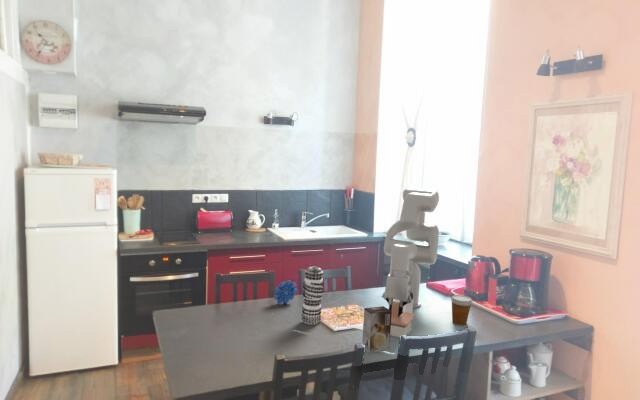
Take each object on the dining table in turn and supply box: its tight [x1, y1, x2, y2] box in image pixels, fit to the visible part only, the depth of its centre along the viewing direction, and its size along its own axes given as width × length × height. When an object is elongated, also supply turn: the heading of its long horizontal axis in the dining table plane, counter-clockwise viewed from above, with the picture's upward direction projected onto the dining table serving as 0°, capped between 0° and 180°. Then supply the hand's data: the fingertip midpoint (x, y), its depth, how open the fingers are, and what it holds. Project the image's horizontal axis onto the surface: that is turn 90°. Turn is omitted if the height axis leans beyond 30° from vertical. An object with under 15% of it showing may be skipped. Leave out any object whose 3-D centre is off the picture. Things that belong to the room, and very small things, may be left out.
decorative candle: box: [301, 265, 325, 326], centre depth 208 cm, size 9×9×25 cm
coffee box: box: [361, 306, 392, 354], centre depth 185 cm, size 9×6×16 cm
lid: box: [391, 300, 416, 327], centre depth 204 cm, size 14×14×7 cm
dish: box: [390, 320, 413, 338], centre depth 204 cm, size 12×12×5 cm
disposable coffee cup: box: [450, 294, 473, 326], centre depth 219 cm, size 10×10×12 cm
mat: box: [347, 325, 363, 331], centre depth 211 cm, size 14×14×1 cm
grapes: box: [273, 279, 298, 305], centre depth 232 cm, size 12×7×12 cm, turn 110°
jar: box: [393, 292, 414, 314], centre depth 222 cm, size 9×8×12 cm
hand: (395, 313), depth 204 cm, fingers closed on lid, 3 cm apart
